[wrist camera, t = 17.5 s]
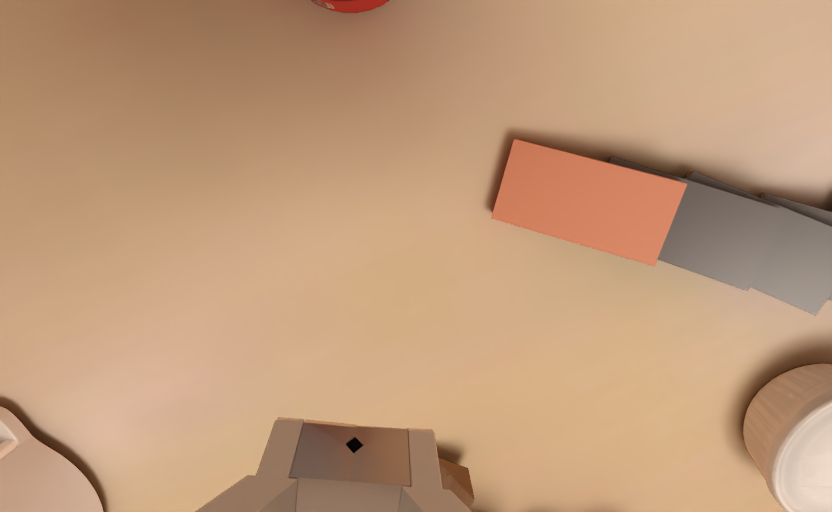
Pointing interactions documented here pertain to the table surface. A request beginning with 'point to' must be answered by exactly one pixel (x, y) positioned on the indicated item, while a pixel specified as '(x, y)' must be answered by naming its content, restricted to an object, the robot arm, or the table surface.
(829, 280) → the tile
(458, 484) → the wooden block set
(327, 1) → the canned food
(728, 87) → the table surface
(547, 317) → the table surface
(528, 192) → the tile
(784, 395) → the ramekin
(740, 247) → the tile
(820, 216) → the tile
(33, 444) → the robot arm
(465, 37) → the table surface
